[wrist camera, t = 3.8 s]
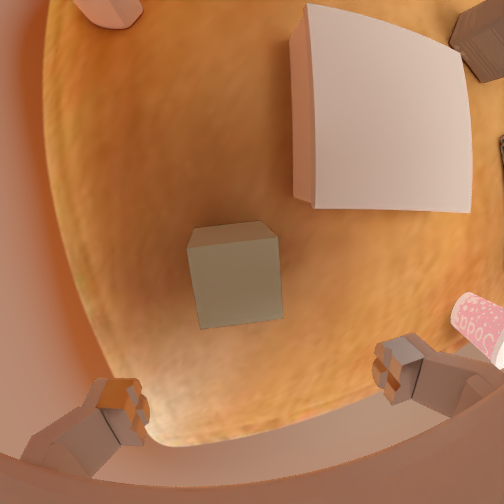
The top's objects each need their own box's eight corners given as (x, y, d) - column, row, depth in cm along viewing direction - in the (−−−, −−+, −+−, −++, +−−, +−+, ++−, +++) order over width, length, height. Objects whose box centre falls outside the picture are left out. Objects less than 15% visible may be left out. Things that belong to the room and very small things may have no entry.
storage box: (285, 38, 18) (306, 2, 13) (419, 68, 20) (460, 53, 14) (289, 199, 22) (315, 208, 16) (425, 203, 23) (470, 213, 18)
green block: (194, 228, 21) (186, 248, 15) (261, 220, 22) (278, 237, 16) (203, 290, 23) (200, 329, 17) (266, 282, 23) (283, 318, 17)
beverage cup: (456, 284, 26) (549, 340, 13) (483, 287, 27) (564, 333, 13) (439, 333, 27) (517, 400, 14) (467, 331, 28) (538, 387, 15)
